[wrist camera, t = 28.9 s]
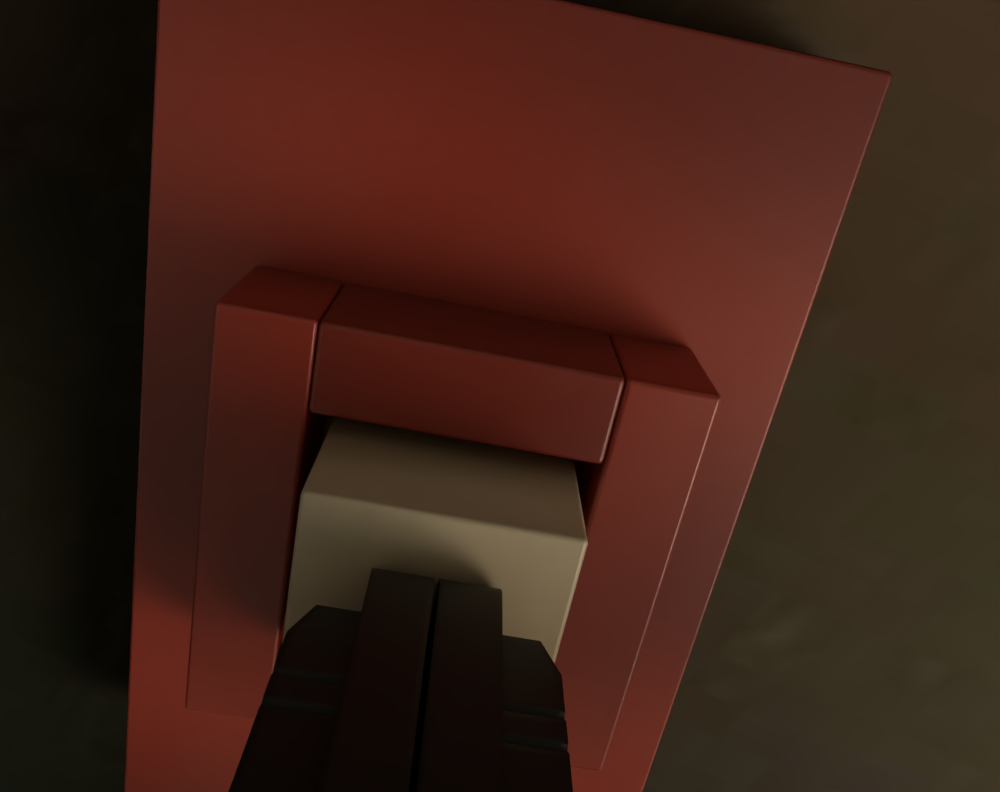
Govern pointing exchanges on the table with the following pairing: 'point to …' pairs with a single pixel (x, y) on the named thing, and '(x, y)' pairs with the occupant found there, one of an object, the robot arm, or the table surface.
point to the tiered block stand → (466, 315)
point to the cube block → (439, 524)
